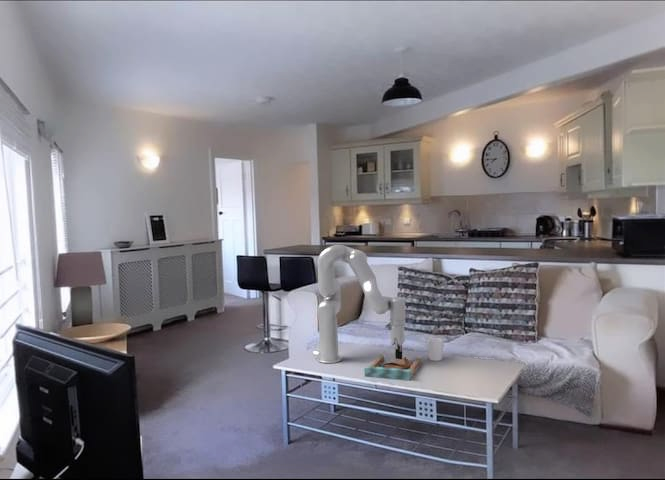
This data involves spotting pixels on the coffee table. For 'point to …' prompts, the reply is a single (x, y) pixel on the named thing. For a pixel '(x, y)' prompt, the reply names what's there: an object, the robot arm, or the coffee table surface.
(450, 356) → the coffee table surface
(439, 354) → the white cup
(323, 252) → the robot arm
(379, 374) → the teal open box
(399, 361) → the brown elongated piece
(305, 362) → the coffee table surface
